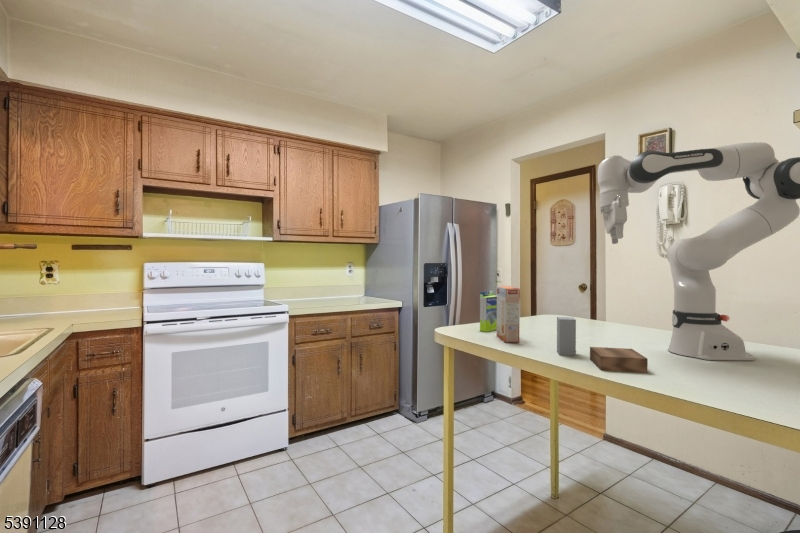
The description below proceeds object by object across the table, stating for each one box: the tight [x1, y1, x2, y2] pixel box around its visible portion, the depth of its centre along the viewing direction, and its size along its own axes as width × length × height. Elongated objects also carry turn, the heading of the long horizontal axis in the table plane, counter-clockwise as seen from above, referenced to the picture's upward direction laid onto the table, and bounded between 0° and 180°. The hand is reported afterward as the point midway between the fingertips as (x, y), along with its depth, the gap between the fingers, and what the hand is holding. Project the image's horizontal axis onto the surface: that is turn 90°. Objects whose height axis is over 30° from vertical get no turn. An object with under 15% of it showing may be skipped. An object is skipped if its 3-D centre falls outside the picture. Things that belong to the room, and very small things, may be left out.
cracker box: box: [495, 285, 521, 344], centre depth 152 cm, size 14×6×21 cm, turn 179°
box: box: [479, 290, 497, 333], centre depth 171 cm, size 10×4×17 cm, turn 132°
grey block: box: [556, 316, 577, 357], centre depth 129 cm, size 5×5×12 cm
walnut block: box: [589, 346, 648, 374], centre depth 114 cm, size 12×12×4 cm
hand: (617, 241), depth 132 cm, fingers open, 8 cm apart
